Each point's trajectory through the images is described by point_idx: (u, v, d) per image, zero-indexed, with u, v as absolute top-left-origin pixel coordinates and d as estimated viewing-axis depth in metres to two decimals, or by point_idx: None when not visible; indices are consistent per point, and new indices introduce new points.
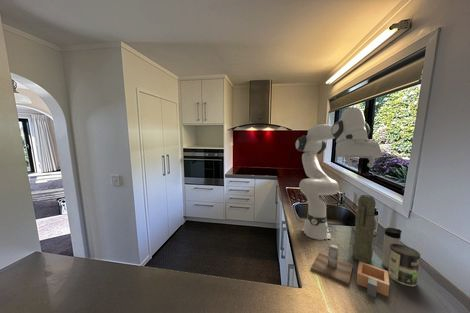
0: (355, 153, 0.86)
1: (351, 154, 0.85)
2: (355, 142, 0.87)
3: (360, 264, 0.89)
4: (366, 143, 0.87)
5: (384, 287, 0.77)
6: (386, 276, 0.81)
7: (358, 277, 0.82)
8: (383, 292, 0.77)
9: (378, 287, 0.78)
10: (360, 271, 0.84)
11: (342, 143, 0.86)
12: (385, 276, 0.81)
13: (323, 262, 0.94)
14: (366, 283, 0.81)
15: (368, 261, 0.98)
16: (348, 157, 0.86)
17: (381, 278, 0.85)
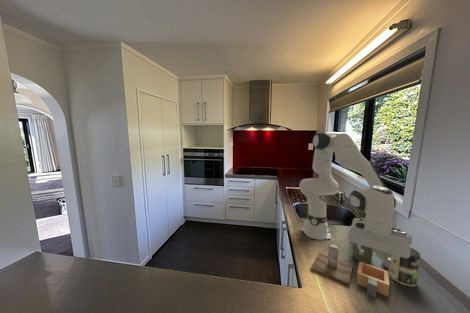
0: (367, 244, 0.77)
1: (361, 244, 0.78)
2: (370, 232, 0.76)
3: (360, 264, 0.89)
4: (387, 237, 0.73)
5: (384, 287, 0.77)
6: (386, 276, 0.81)
7: (358, 277, 0.82)
8: (383, 292, 0.77)
9: (378, 287, 0.78)
10: (360, 271, 0.84)
11: (351, 230, 0.80)
12: (385, 276, 0.81)
13: (323, 262, 0.94)
14: (366, 283, 0.81)
15: (368, 261, 0.98)
16: (358, 245, 0.79)
17: (381, 278, 0.85)
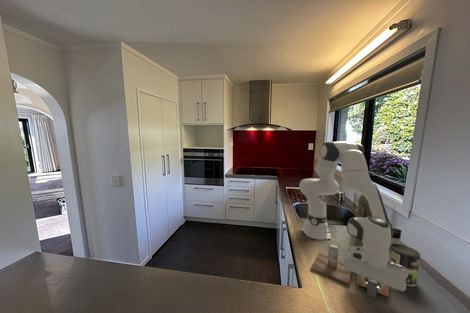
0: (364, 274, 0.78)
1: (358, 273, 0.79)
2: (366, 263, 0.77)
3: None
4: (383, 269, 0.74)
5: (384, 287, 0.77)
6: None
7: (358, 277, 0.82)
8: (383, 292, 0.77)
9: None
10: None
11: (348, 259, 0.81)
12: None
13: (323, 262, 0.94)
14: None
15: None
16: (362, 276, 0.79)
17: None
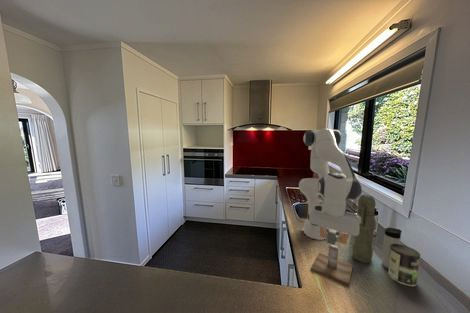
0: (324, 225, 0.85)
1: (320, 225, 0.86)
2: (326, 214, 0.84)
3: None
4: (340, 218, 0.81)
5: (342, 236, 0.84)
6: None
7: (321, 230, 0.89)
8: (342, 241, 0.84)
9: None
10: None
11: (311, 212, 0.88)
12: None
13: (323, 262, 0.94)
14: None
15: (368, 261, 0.98)
16: (323, 228, 0.86)
17: None
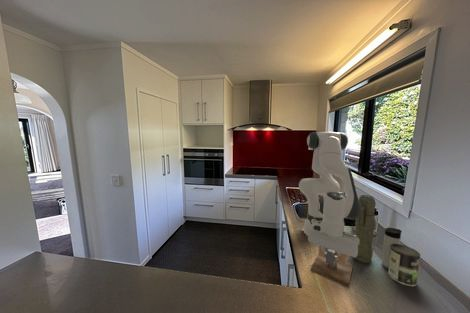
0: (323, 244, 0.85)
1: (318, 244, 0.86)
2: (325, 234, 0.84)
3: None
4: (339, 238, 0.81)
5: (341, 256, 0.84)
6: None
7: (320, 249, 0.90)
8: (340, 261, 0.84)
9: None
10: None
11: (310, 231, 0.88)
12: None
13: (323, 262, 0.94)
14: None
15: (368, 261, 0.98)
16: (322, 247, 0.86)
17: None
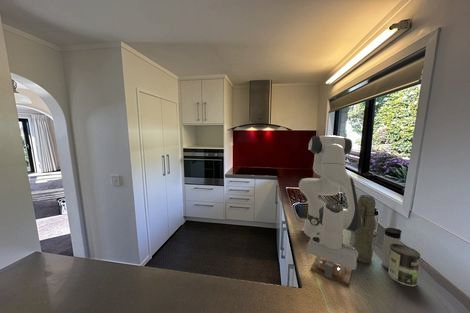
0: (322, 256, 0.86)
1: (317, 255, 0.87)
2: (324, 246, 0.85)
3: None
4: (338, 250, 0.82)
5: None
6: None
7: None
8: (339, 274, 0.85)
9: (335, 269, 0.86)
10: None
11: (309, 242, 0.89)
12: None
13: None
14: None
15: (368, 261, 0.98)
16: (317, 257, 0.88)
17: None
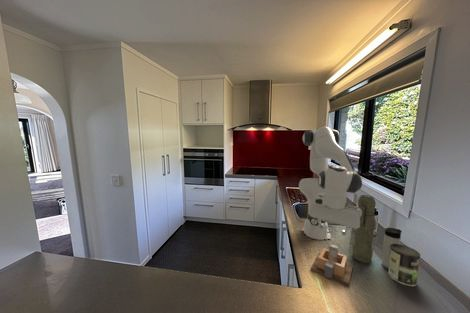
0: (325, 218, 0.84)
1: (320, 218, 0.86)
2: (327, 207, 0.83)
3: (323, 250, 0.96)
4: (341, 210, 0.80)
5: (340, 269, 0.85)
6: (343, 260, 0.89)
7: (319, 261, 0.90)
8: (339, 274, 0.85)
9: (335, 269, 0.86)
10: (321, 256, 0.91)
11: (312, 206, 0.87)
12: (343, 260, 0.89)
13: None
14: None
15: (368, 261, 0.98)
16: (318, 219, 0.87)
17: (341, 262, 0.93)
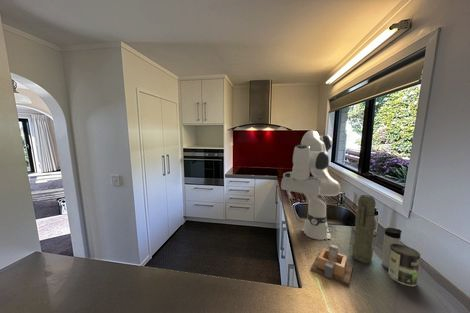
0: (293, 189, 1.00)
1: (289, 189, 1.01)
2: (294, 180, 0.99)
3: (323, 250, 0.96)
4: (305, 182, 0.96)
5: (340, 269, 0.85)
6: (343, 260, 0.89)
7: (319, 261, 0.90)
8: (339, 274, 0.85)
9: (335, 269, 0.86)
10: (321, 256, 0.91)
11: (282, 179, 1.03)
12: (343, 260, 0.89)
13: None
14: None
15: (368, 261, 0.98)
16: (287, 191, 1.03)
17: (341, 262, 0.93)
